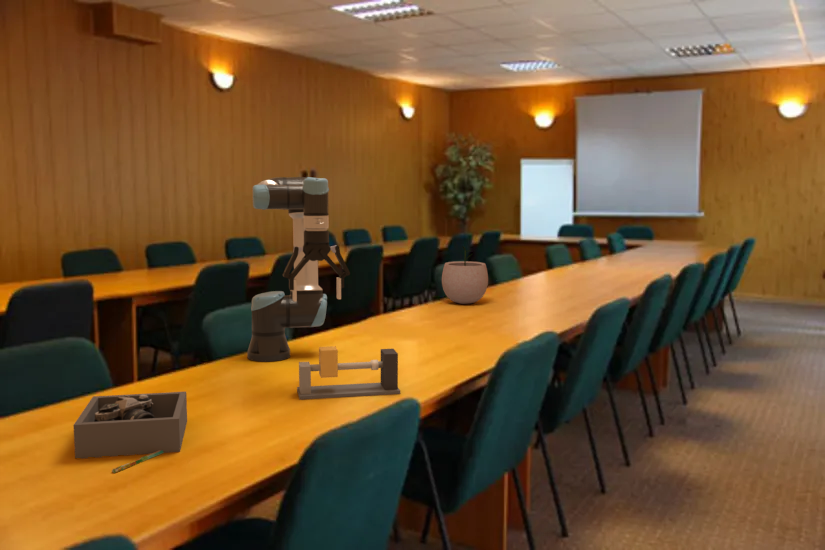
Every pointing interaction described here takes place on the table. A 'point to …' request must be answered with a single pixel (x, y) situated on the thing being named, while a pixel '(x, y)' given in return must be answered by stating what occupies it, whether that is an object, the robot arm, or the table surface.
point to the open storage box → (132, 428)
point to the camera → (126, 409)
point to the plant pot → (464, 280)
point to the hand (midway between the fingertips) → (317, 300)
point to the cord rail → (351, 390)
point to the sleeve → (328, 361)
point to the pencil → (137, 461)
